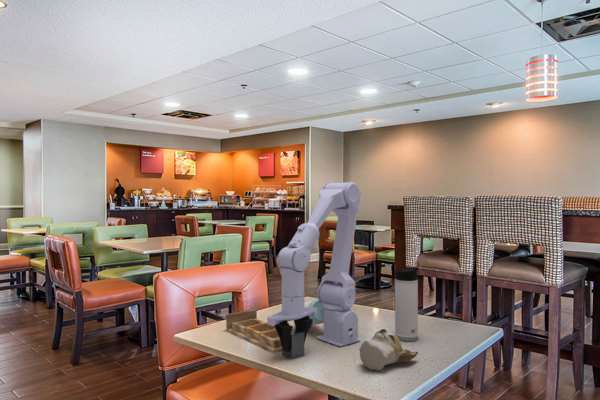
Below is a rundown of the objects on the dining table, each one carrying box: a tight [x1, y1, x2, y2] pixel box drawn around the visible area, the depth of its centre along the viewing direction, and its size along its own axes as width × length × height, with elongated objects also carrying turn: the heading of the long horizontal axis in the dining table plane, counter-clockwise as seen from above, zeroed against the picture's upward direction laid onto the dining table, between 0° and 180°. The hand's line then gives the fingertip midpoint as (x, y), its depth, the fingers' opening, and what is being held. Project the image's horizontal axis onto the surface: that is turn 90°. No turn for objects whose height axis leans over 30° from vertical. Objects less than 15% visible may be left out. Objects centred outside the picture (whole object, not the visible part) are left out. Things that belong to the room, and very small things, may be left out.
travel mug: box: [394, 266, 420, 342], centre depth 122 cm, size 6×7×20 cm
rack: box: [225, 308, 282, 354], centre depth 123 cm, size 24×10×5 cm, turn 39°
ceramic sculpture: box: [359, 328, 419, 372], centre depth 103 cm, size 11×9×15 cm
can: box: [304, 298, 324, 326], centre depth 129 cm, size 7×7×12 cm
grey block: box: [281, 327, 305, 360], centre depth 109 cm, size 4×4×6 cm
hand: (293, 348), depth 109 cm, fingers closed on grey block, 4 cm apart
